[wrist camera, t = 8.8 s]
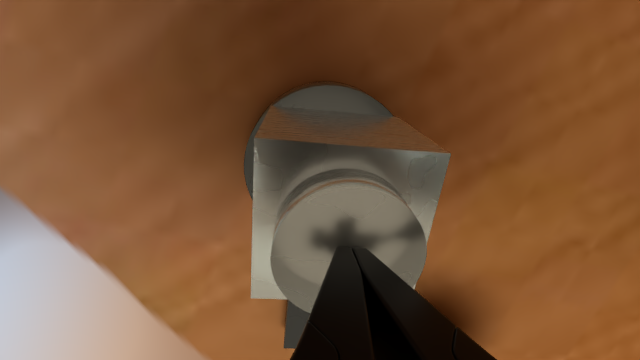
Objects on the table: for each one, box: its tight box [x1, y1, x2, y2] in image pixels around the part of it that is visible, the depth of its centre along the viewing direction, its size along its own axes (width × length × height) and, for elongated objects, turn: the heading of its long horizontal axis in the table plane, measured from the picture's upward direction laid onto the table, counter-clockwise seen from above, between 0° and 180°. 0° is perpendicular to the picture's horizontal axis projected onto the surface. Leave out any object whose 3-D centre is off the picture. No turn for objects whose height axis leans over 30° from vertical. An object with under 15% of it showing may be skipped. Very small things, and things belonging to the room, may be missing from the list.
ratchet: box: [244, 81, 393, 348], centre depth 16 cm, size 16×8×5 cm, turn 173°
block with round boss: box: [251, 106, 451, 313], centre depth 12 cm, size 6×6×7 cm
